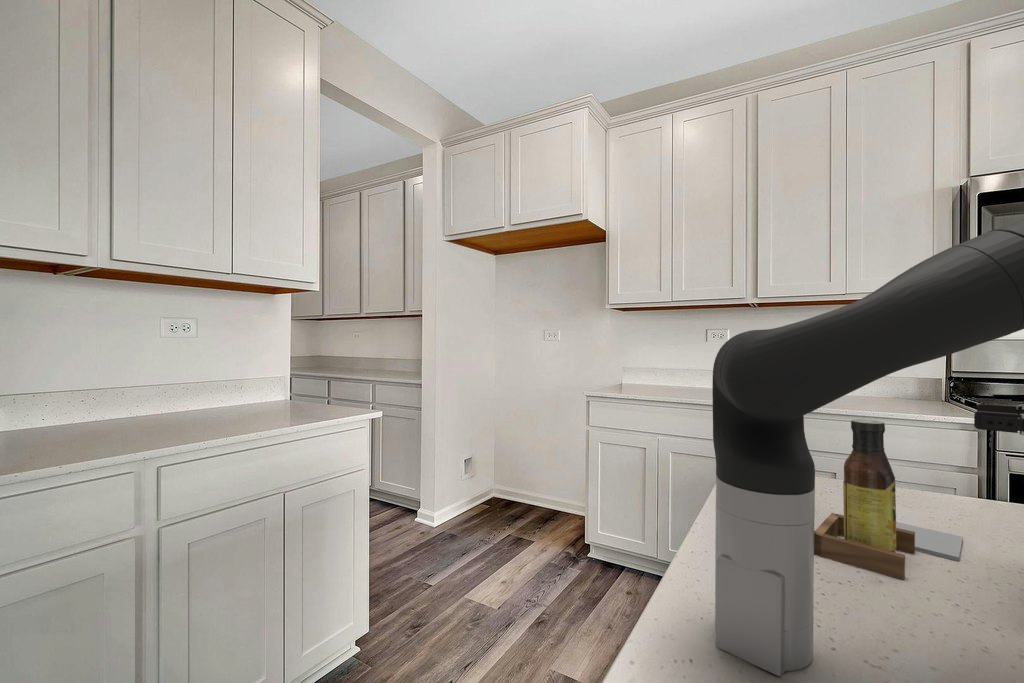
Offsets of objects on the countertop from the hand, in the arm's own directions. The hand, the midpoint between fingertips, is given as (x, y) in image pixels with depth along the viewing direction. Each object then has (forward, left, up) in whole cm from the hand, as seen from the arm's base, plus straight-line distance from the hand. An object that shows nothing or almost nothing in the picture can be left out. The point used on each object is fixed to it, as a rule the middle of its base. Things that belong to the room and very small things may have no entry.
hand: (975, 415), depth 62 cm
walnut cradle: (0, +11, -22) cm, 25 cm away
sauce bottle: (0, +11, -22) cm, 25 cm away
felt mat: (+12, +6, -22) cm, 26 cm away
